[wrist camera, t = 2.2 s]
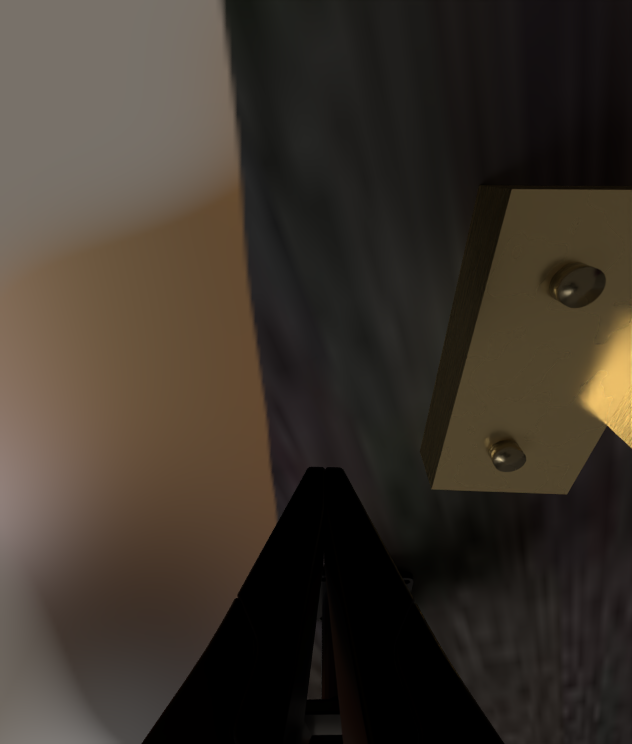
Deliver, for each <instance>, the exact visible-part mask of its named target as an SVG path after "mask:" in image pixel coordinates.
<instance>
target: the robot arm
mask: <svg viewBox="0 0 632 744" xmlns="http://www.w3.org/2000/svg"><path fill="white" fill-rule="evenodd" d="M323 561H324V563H325V570H323ZM413 583H414V580H413V575H412V574H411V573H410V572H399V571H398V569H397V567H396V565H395V564H394V562H393V560H392V558H391V556H390V554H389V553H388V551H387V549H386V547H385V545H384V543H383V542H382V540H381V538H380V536H379V534H378V532H377V531H376V529H375V527H374V525H373V523H372V521H371V520H370V518H369V516H368V514H367V512H366V510H365V509H364V507H363V505H362V503H361V501H360V499H359V498H358V496H357V494H356V492H355V490H354V489H353V487H352V485H351V483H350V481H349V479H348V478H347V476H346V474H345V472H344V470H343V469H342V468H339V467H327V468H326V469H324V468H323V467H309V468H308V469H307V470H306V472H305V474H304V476H303V477H302V479H301V481H300V483H299V485H298V486H297V488H296V490H295V492H294V494H293V495H292V497H291V499H290V501H289V503H288V504H287V506H286V508H285V510H284V512H283V513H282V515H281V517H280V519H279V521H278V522H277V524H276V526H275V528H274V530H273V531H272V533H271V535H270V537H269V539H268V541H267V542H266V544H265V546H264V548H263V550H262V551H261V553H260V555H259V557H258V558H257V560H256V562H255V564H254V566H253V567H252V569H251V571H250V573H249V575H248V576H247V578H246V580H245V582H244V584H243V585H242V587H241V589H240V591H239V593H238V595H237V596H238V598H236V599H234V601H233V603H232V605H231V607H230V608H229V610H228V612H227V614H226V616H225V617H224V619H223V621H222V623H221V624H220V626H219V628H218V629H217V631H216V633H215V634H214V636H213V638H212V640H211V641H210V643H209V645H208V646H207V648H206V649H205V651H204V652H203V654H202V655H201V657H200V659H199V660H198V662H197V663H196V665H195V666H194V668H193V669H192V671H191V672H190V674H189V675H188V677H187V678H186V680H185V681H184V683H183V684H182V686H181V687H180V689H179V690H178V692H177V693H176V694H175V696H174V697H173V699H172V700H171V702H170V703H169V705H168V706H167V707H166V709H165V710H164V712H163V713H162V715H161V716H160V718H159V719H158V720H157V722H156V723H155V725H154V726H153V728H152V729H151V731H150V732H149V734H148V735H147V737H146V738H145V739H144V741H143V742H142V744H504V742H503V741H502V739H501V738H500V736H499V735H498V734H497V732H496V731H495V729H494V728H493V726H492V725H491V723H490V722H489V720H488V719H487V717H486V716H485V714H484V713H483V711H482V710H481V708H480V707H479V705H478V704H477V702H476V701H475V699H474V698H473V696H472V695H471V693H470V692H469V690H468V689H467V687H466V686H465V684H464V683H463V681H462V680H461V678H460V676H459V675H458V673H457V672H456V670H455V669H454V667H453V666H452V664H451V662H450V661H449V659H448V658H447V656H446V655H445V653H444V651H443V649H442V648H441V646H440V644H439V643H438V641H437V639H436V637H435V636H434V634H433V632H432V630H431V629H430V627H429V625H428V624H427V622H426V620H425V618H424V616H423V614H422V613H421V611H420V609H419V607H418V605H417V604H416V603H414V598H413V596H412V595H411V590H412V586H413ZM316 620H318V621H321V622H322V672H321V699H314V700H307V693H308V685H309V677H310V669H311V661H312V653H313V644H314V636H315V628H316Z"/></svg>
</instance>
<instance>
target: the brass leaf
mask: <svg viewBox="0 0 632 744" xmlns="http://www.w3.org/2000/svg"><path fill="white" fill-rule="evenodd" d="M607 425H608V426H609V427H610V428H611V429H612V430H613V431H614V432H615V433H616V434H617V435H618V436H619V437H620V438H621V439H622V440H623V441H625V442H626V443H627V444H628V445H629V446H630V447H631V448H632V186H521V185H479V188H478V193H477V197H476V202H475V206H474V211H473V215H472V220H471V224H470V229H469V233H468V238H467V242H466V247H465V251H464V256H463V260H462V265H461V269H460V274H459V278H458V283H457V287H456V292H455V296H454V301H453V305H452V310H451V314H450V319H449V323H448V328H447V332H446V337H445V341H444V346H443V350H442V355H441V359H440V364H439V368H438V373H437V377H436V382H435V386H434V391H433V395H432V400H431V404H430V409H429V413H428V418H427V422H426V427H425V431H424V436H423V440H422V445H421V449H420V453H421V456H422V460H423V463H424V466H425V470H426V473H427V476H428V479H429V483H430V486H431V489H435V490H462V491H489V492H517V493H544V494H568V492H569V490H570V488H571V487H572V485H573V483H574V481H575V480H576V478H577V476H578V475H579V473H580V471H581V469H582V468H583V466H584V464H585V463H586V461H587V459H588V457H589V456H590V454H591V452H592V451H593V449H594V447H595V445H596V444H597V442H598V440H599V438H600V437H601V435H602V433H603V432H604V430H605V428H606V426H607Z"/></svg>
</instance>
